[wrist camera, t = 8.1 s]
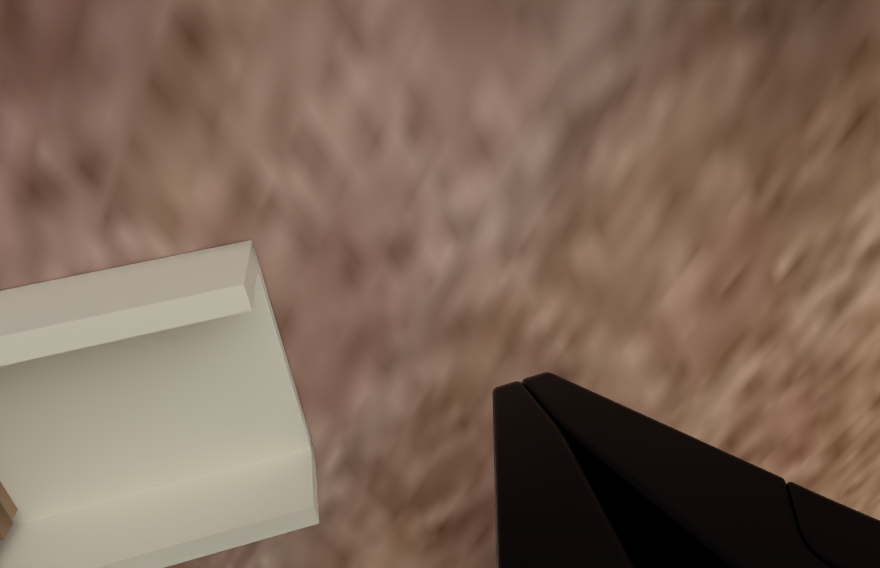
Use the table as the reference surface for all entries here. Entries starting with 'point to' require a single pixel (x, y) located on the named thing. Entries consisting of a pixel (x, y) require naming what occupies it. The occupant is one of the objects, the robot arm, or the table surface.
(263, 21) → the table surface
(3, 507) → the crate
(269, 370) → the bay
